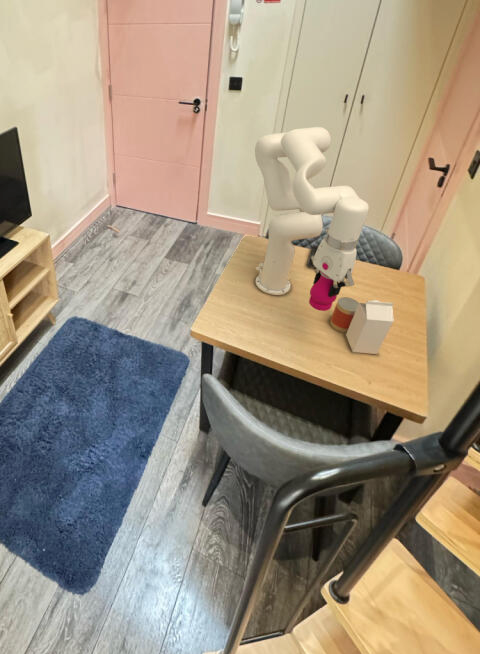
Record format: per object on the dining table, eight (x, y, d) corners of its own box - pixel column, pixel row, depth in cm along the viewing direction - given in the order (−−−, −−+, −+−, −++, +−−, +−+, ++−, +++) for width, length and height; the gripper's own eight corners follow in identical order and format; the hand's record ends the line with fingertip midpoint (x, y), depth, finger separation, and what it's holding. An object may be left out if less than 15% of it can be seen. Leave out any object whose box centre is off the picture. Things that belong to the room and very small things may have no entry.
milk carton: (377, 354, 126) (398, 311, 115) (352, 352, 128) (371, 309, 117) (369, 337, 132) (388, 295, 121) (345, 335, 133) (363, 293, 123)
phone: (332, 250, 169) (328, 270, 159) (332, 252, 170) (327, 272, 159) (312, 245, 173) (306, 264, 162) (311, 247, 173) (306, 266, 163)
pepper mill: (302, 297, 128) (317, 247, 117) (324, 295, 128) (341, 244, 117) (314, 313, 122) (331, 261, 111) (337, 311, 122) (356, 259, 111)
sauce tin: (325, 321, 139) (332, 300, 133) (340, 315, 141) (348, 294, 135) (340, 334, 134) (349, 313, 128) (356, 328, 135) (365, 307, 130)
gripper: (307, 228, 118) (295, 276, 128) (356, 260, 104) (337, 310, 114) (328, 222, 119) (314, 270, 129) (378, 253, 106) (358, 303, 116)
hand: (325, 288), depth 122 cm, fingers closed on pepper mill, 5 cm apart
